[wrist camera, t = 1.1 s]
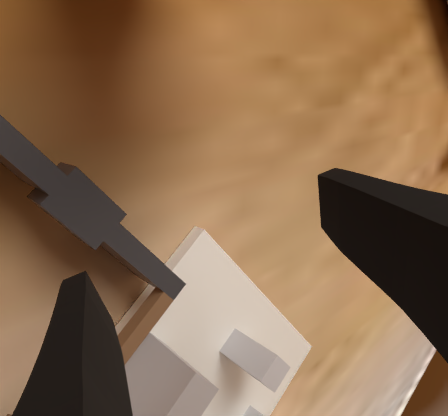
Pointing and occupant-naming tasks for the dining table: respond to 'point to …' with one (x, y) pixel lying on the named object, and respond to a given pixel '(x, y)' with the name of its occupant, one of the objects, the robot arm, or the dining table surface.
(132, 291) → the dining table surface
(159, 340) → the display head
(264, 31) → the dining table surface
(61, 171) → the glasses
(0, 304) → the dining table surface
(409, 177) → the dining table surface
